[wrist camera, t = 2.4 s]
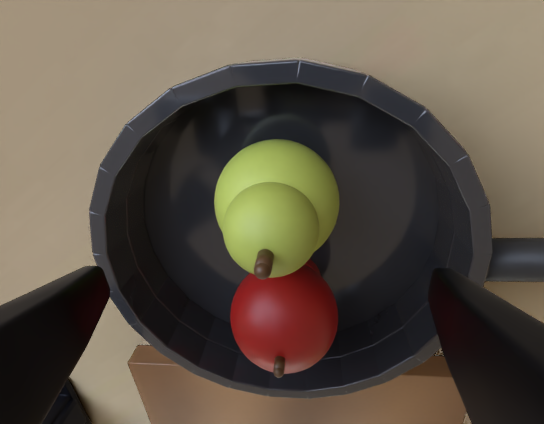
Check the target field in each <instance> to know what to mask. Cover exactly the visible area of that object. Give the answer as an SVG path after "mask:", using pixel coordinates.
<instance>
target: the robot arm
mask: <svg viewBox="0 0 544 424" xmlns="http://www.w3.org/2000/svg"><path fill="white" fill-rule="evenodd" d="M109 297H110V287H109V284H108V282H107V279H106V276H105V273H104V271H103V269H102V268H101V267H99V266H85V267H83V268H80V269H78V270H76V271H74V272H72V273H70V274H68V275H65V276H63V277H61V278H59V279H57V280H55V281H52V282H50V283H48V284H46V285H44V286H42V287H40V288H37V289H35V290H33V291H31V292H29V293H27V294H25V295H22V296H20V297H18V298H16V299H14V300H12V301H10V302H7V303H5V304H3V305H1V306H0V424H91V422H90V420H89V418H88V416H87V414H86V412H85V410H84V408H83V406H82V405H81V403H80V401H79V399H78V397H77V395H76V393H75V391H74V389H73V387H72V386H71V384H70V382H69V381H68V380H67V379H68V378H69V376H70V374H71V373H72V371H73V369H74V367H75V366H76V364H77V362H78V361H79V359H80V357H81V355H82V354H83V352H84V350H85V348H86V346H87V344H88V342H89V340H90V338H91V336H92V334H93V332H94V330H95V328H96V325H97V323H98V321H99V319H100V317H101V315H102V312H103V310H104V308H105V306H106V304H107V302H108V299H109ZM428 302H429V306H430V310H431V313H432V316H433V320H434V323H435V327H436V330H437V334H438V337H439V341H440V344H441V347H442V351H443V354H444V357H445V360H446V363H447V365H448V368H449V370H450V373H451V375H452V377H453V380H454V382H455V385H456V387H457V389H458V392H459V394H460V396H461V399H462V401H463V404H464V406H465V408H466V411H467V413H468V416H469V418H470V420H471V423H472V424H544V324H543V323H542V322H540V321H538V320H537V319H535V318H533V317H532V316H530V315H528V314H527V313H525V312H523V311H522V310H520V309H518V308H517V307H515V306H513V305H512V304H510V303H508V302H507V301H505V300H503V299H502V298H500V297H499V296H497V295H495V294H494V293H492V292H490V291H489V290H487V289H485V288H484V287H482V286H480V285H479V284H477V283H475V282H474V281H472V280H470V279H469V278H467V277H465V276H464V275H462V274H460V273H459V272H457V271H455V270H454V269H451V268H435V269H434V270H433V272H432V275H431V280H430V286H429V291H428Z"/></svg>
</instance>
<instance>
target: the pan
mask: <svg viewBox="0 0 544 424" xmlns="http://www.w3.org/2000/svg"><path fill="white" fill-rule="evenodd" d="M271 139H284V140H290V141H294V142H297V143H300V144H302V145H304V146H306V147H308V148H310V149H311V150H313V151H314V152H315V153H317V154H318V155H319V156H320V157H321V158H322V159H323V160H324V161H325V162H326V164H327V165H328V166H329V168H330V169H331V171H332V173H333V175H334V177H335V180H336V183H337V186H338V191H339V213H338V217H337V220H336V224H335V226H334V228H333V230H332V232H331V234H330V235H329V237H328V239H327V240H326V241H325V242H324V244H323V245H322V246H321V247H320V248H318V249H317V250H316V251H315V252H313V254H312V256H311V257H310V259H311V260H312V261H313V262H314V263H315V264H316V266H317V267H318V269H319V271H320V274H321V276H322V277H323V279H324V280H325V281H326V282H327V284H328V285H329V287H330V288H331V290H332V292H333V295H334V297H335V300H336V304H337V309H338V326H337V332H336V335H335V338H334V341H333V343H332V345H331V347H330V348H329V350H328V351H327V353H326V354H325V355H324V356H323V357H322V358H321V359H320V360H319V361H318V362H317V363H316V364H314V365H313V366H311V367H309V368H308V369H305V370H303V371H300V372H296V373H290V374H284V375H283V376H282V377H280V378H277V377H275V376H274V373H273V372H270V371H267V370H264V369H262V368H260V367H259V366H257V365H255V364H254V363H253V362H251V361H250V360H249V359H248V358H247V357H246V356H245V355H244V354H243V352H242V351H241V350H240V348H239V346H238V345H237V343H236V341H235V338H234V335H233V332H232V328H231V321H230V312H231V305H232V301H233V297H234V295H235V292H236V290H237V288H238V287H239V285H240V283H241V282H242V281H243V279H244V278H245V277H246V276H247V275H248V274H249V272H248V271H246V270H244V269H243V268H242V267H240V266H239V265H238V264H237V263H236V262H235V261H234V260H233V258H232V257H231V255H230V254H229V252H228V250H227V248H226V245H225V242H224V237H223V233H222V231H221V229H220V227H219V224H218V222H217V218H216V214H215V206H214V197H215V190H216V185H217V182H218V179H219V177H220V175H221V173H222V171H223V169H224V167H225V166H226V165H227V163H228V162H229V161H230V160H231V159H232V158H233V157H234V156H235V155H236V154H237V153H238V152H240V151H241V150H242V149H244V148H246V147H248V146H249V145H252V144H254V143H257V142H260V141H264V140H271ZM89 211H90V212H89V217H90V229H91V242H92V252H93V256H94V259H95V262H96V264H97V266H99V267H101V268H102V269H103V271H104V273H105V276H106V279H107V282H108V284H109V287H110V298H111V299H112V301H113V302H114V304H115V305H116V306H117V308H118V309H119V311H120V312H121V314H122V315H123V317H124V318H125V319H126V321H127V322H128V324H129V325H131V327H132V328H133V329H135V330H136V331H137V332H138V333H139V334H140V335H141V336H142V337H143V338H144V339H145V340H146V341H147V342H148V343H150V344H151V345H152V346H153V347H154V348H155V349H156V350H157V351H159V353H161V354H162V355H164V356H165V357H167V358H169V359H170V360H172V361H173V362H175V363H177V364H178V365H180V366H181V367H183V368H185V369H186V370H188V371H189V372H191V373H193V374H195V375H197V376H200V377H202V378H205V379H207V380H210V381H212V382H214V383H217V384H219V385H222V386H224V387H227V388H229V387H230V388H231V389H235V390H240V391H244V392H249V393H253V394H258V395H262V396H269V397H282V398H300V399H307V398H308V399H313V398H322V397H331V396H339V395H347V394H351V393H354V392H358V391H361V390H364V389H368V388H371V387H374V386H378V385H381V384H384V383H387V382H389V381H391V380H393V379H395V378H396V377H398V376H400V375H402V374H404V373H406V372H407V371H409V370H411V369H413V368H415V367H417V366H419V365H420V364H422V363H423V362H425V361H427V360H428V359H429V358H430V357H431V356H432V355H433V354H435V353H436V352H437V351H438V350H439V349H440V348H441V344H440V341H439V337H438V334H437V330H436V327H435V323H434V320H433V316H432V313H431V310H430V306H429V302H428V291H429V286H430V280H431V275H432V272H433V270H434V269H435V268H451V269H454V270H455V271H457V272H459V273H460V274H462V275H464V276H465V277H467V278H469V279H470V280H472V281H474V282H475V283H477V284H479V285H480V286H482V287H483V286H484V282H485V279H486V275H487V272H488V268H489V265H490V261H491V258H492V253H493V248H492V230H491V213H490V205H489V201H488V199H487V196H486V194H485V192H484V189H483V187H482V185H481V182H480V180H479V178H478V175H477V173H476V171H475V168H474V166H473V164H472V161H471V159H470V157H469V155H468V154H467V152H466V150H465V149H464V148H463V147H462V146H461V145H460V144H459V143H458V142H457V141H456V139H455V138H454V137H453V136H452V135H451V134H450V133H449V132H448V131H447V130H446V129H445V127H444V126H443V125H442V124H441V123H440V122H439V121H438V120H437V119H436V118H435V117H434V115H433V114H432V113H431V112H430V111H429V110H428V109H426V108H425V107H424V106H423V105H421V104H419V103H417V102H416V101H414V100H412V99H410V98H409V97H407V96H405V95H403V94H401V93H400V92H398V91H396V90H394V89H393V88H391V87H389V86H387V85H386V84H384V83H382V82H380V81H378V80H377V79H375V78H373V77H371V76H370V75H367V74H365V73H362V72H360V71H357V70H355V69H352V68H347V67H343V66H338V65H334V64H330V63H326V62H320V61H316V60H311V59H307V58H299V57H298V58H284V59H270V60H256V61H247V62H241V63H235V64H231V65H227V66H224V67H222V68H219V69H216V70H214V71H211V72H209V73H206V74H203V75H201V76H198V77H196V78H193V79H190V80H188V81H185V82H183V83H180V84H178V85H175V86H173V87H172V88H169V89H168V90H167V91H166V92H164V93H163V94H162V95H161V96H159V97H158V98H157V99H156V100H154V101H153V102H152V103H151V104H149V105H148V106H147V107H146V108H145V109H143V110H142V111H141V112H140V113H138V114H137V115H136V116H135V117H133V118H132V119H131V120H130V121H128V123H127V124H125V126H124V128H123V129H122V131H121V132H120V134H119V136H118V137H117V139H116V140H115V142H114V144H113V145H112V147H111V148H110V150H109V151H108V153H107V155H106V156H105V158H104V159H103V161H102V163H101V164H100V167H99V170H98V175H97V179H96V183H95V187H94V192H93V196H92V200H91V204H90V209H89Z"/></svg>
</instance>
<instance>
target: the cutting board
mask: <svg viewBox="0 0 544 424" xmlns="http://www.w3.org/2000/svg"><path fill="white" fill-rule="evenodd" d="M128 366H129V368H130V371H131V373H132V376H133V378H134V381H135V384H136V386H137V389H138V391H139V394H140V396H141V399H142V402H143V404H144V407H145V409H146V412H147V414H148V417H149V419H150V422H151V424H462V423H463V420H464V417H465V414H466V408H465V406H464V404H463V401H462V399H461V396H460V394H459V392H458V389H457V387H456V385H455V382H454V380H453V377H452V375H451V373H450V370H449V368H448V365H447V363H446V360H445V357H444V356H431V357H430V358H429V359H428V360H427V361H425V362H423V363H422V364H420V365H419V366H417V367H415V368H413V369H411V370H409V371H407V372H406V373H404V374H402V375H400V376H398V377H396V378H395V379H393V380H391V381H389V382H387V383H384V384H381V385H378V386H374V387H371V388H368V389H364V390H361V391H358V392H354V393H351V394H347V395H339V396H331V397H322V398H313V399H308V398H307V399H300V398H282V397H269V396H262V395H258V394H253V393H249V392H244V391H240V390H235V389H231V388H230V387H229V388H227V387H224V386H222V385H219V384H217V383H214V382H212V381H210V380H207V379H205V378H202V377H200V376H197V375H195V374H193V373H191V372H189V371H188V370H186V369H185V368H183V367H181V366H180V365H178V364H177V363H175V362H173V361H172V360H170V359H169V358H167V357H165V356H164V355H162V354H161V353H159V351H157V350H156V349H155V348H154V347H153V346H149V345H138V346H137V347H136V349H135V351H134V353H133V354H132V356H131V358H130V359H129V361H128Z"/></svg>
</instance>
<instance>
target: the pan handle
mask: <svg viewBox="0 0 544 424" xmlns="http://www.w3.org/2000/svg"><path fill="white" fill-rule="evenodd" d="M492 248H493V253H492V258H491V261H490V265H489V268H488V272H487V275H486V279H485V281H504V282H544V238H492Z"/></svg>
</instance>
